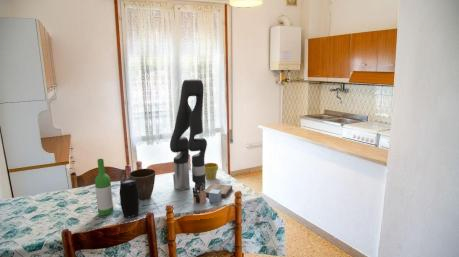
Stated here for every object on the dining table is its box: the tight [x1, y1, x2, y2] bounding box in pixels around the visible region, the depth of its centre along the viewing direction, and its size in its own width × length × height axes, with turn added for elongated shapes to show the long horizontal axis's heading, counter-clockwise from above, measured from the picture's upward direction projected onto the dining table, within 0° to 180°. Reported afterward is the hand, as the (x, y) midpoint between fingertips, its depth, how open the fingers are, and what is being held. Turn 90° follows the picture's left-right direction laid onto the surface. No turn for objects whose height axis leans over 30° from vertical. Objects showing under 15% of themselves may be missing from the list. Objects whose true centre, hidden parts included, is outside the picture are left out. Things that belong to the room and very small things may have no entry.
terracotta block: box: [192, 190, 207, 205], centre depth 184 cm, size 6×6×6 cm
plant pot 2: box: [205, 162, 219, 181], centre depth 220 cm, size 10×10×10 cm
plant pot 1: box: [128, 168, 156, 202], centre depth 189 cm, size 15×15×16 cm
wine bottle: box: [94, 158, 114, 216], centre depth 170 cm, size 8×8×30 cm
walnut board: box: [204, 183, 233, 199], centre depth 196 cm, size 14×14×2 cm
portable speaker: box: [119, 177, 140, 219], centre depth 167 cm, size 9×9×20 cm
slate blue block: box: [208, 189, 222, 203], centre depth 185 cm, size 6×6×6 cm
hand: (199, 200), depth 184 cm, fingers closed on terracotta block, 5 cm apart
